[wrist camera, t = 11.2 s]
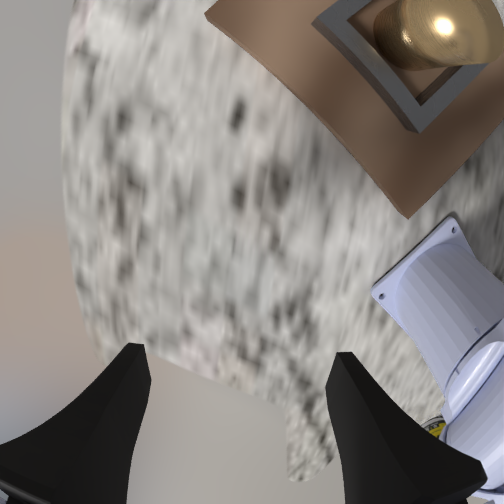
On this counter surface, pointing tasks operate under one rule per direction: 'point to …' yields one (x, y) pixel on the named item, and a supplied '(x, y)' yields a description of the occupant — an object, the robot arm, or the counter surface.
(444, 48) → the brass cylinder
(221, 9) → the jig plate
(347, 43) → the frame
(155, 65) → the counter surface
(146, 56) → the counter surface
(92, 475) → the robot arm
